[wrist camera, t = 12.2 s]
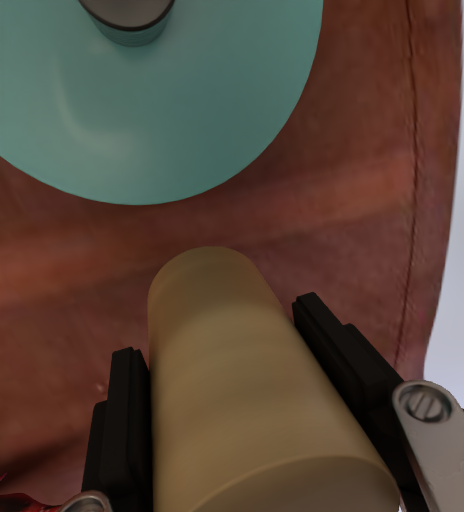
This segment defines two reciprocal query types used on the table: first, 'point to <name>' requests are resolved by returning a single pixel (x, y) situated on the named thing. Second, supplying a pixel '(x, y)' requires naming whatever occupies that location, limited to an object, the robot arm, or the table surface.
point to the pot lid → (148, 90)
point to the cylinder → (247, 401)
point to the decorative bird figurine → (23, 503)
